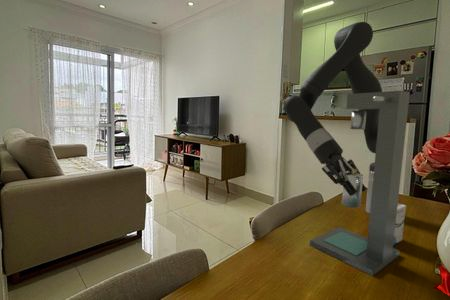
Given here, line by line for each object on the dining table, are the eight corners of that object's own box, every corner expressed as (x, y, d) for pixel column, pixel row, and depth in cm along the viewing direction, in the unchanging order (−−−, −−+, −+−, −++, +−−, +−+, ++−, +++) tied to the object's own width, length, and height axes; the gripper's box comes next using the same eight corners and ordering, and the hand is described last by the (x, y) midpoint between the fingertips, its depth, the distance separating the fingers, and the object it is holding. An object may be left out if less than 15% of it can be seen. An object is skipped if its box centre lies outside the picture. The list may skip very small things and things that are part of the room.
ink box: (390, 247, 74) (395, 200, 72) (372, 240, 78) (377, 196, 76) (402, 240, 79) (407, 195, 77) (385, 233, 83) (390, 191, 81)
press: (338, 231, 84) (348, 97, 78) (398, 255, 70) (417, 93, 64) (306, 246, 74) (315, 94, 68) (369, 278, 60) (387, 88, 54)
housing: (347, 200, 75) (350, 167, 74) (363, 205, 71) (366, 169, 70) (338, 203, 73) (341, 168, 71) (355, 208, 69) (358, 172, 67)
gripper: (318, 139, 71) (356, 190, 63) (344, 137, 80) (381, 182, 72) (301, 155, 76) (335, 203, 68) (328, 151, 85) (361, 194, 77)
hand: (358, 192), depth 70 cm, fingers closed on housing, 4 cm apart
